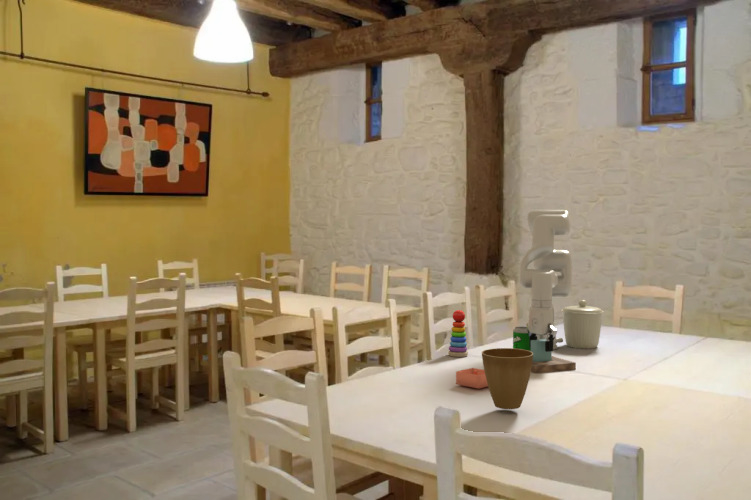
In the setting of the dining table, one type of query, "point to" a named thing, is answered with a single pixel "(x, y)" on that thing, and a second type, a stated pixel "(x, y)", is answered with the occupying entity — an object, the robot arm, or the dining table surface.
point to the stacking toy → (458, 336)
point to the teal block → (540, 351)
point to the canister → (582, 325)
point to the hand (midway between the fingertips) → (541, 349)
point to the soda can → (521, 338)
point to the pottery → (471, 378)
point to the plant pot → (507, 375)
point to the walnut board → (552, 365)
